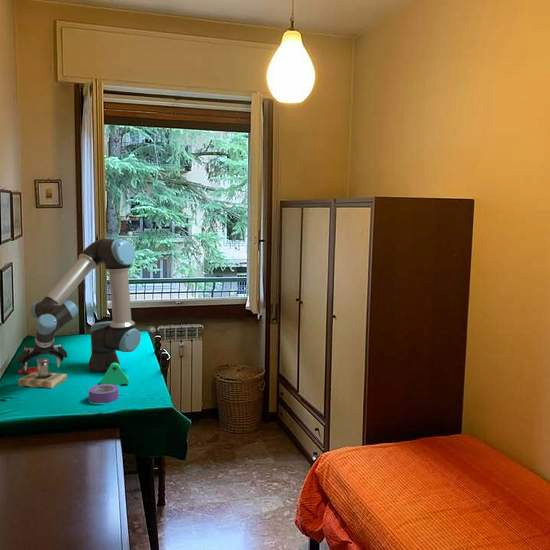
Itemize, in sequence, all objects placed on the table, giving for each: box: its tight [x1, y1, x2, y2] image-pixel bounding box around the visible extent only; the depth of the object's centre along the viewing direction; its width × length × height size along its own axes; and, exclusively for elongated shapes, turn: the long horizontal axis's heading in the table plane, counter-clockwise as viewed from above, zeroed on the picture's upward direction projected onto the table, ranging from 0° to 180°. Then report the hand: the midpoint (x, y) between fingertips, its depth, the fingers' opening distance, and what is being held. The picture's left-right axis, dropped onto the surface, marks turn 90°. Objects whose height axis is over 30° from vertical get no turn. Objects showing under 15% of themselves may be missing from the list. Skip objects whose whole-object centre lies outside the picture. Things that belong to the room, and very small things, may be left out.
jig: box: [18, 372, 68, 389], centre depth 245 cm, size 16×12×3 cm
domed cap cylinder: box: [36, 357, 50, 379], centre depth 244 cm, size 5×5×11 cm
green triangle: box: [99, 363, 130, 386], centre depth 245 cm, size 12×8×10 cm, turn 103°
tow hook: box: [17, 346, 38, 375], centre depth 262 cm, size 8×13×9 cm
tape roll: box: [88, 384, 120, 404], centre depth 224 cm, size 12×12×5 cm
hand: (41, 366), depth 245 cm, fingers open, 13 cm apart
